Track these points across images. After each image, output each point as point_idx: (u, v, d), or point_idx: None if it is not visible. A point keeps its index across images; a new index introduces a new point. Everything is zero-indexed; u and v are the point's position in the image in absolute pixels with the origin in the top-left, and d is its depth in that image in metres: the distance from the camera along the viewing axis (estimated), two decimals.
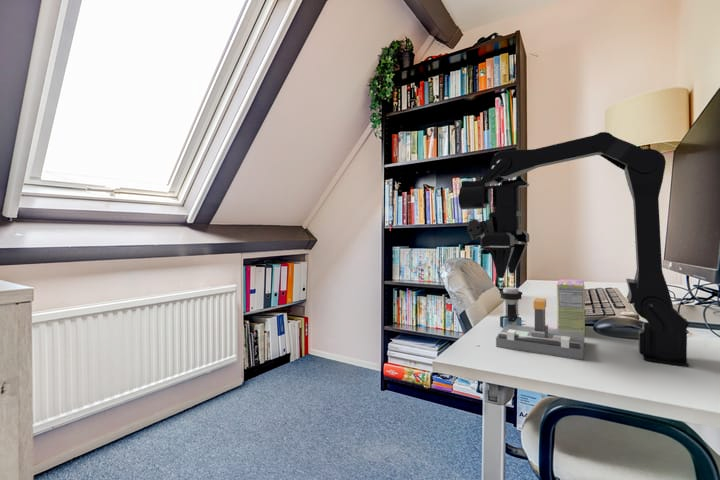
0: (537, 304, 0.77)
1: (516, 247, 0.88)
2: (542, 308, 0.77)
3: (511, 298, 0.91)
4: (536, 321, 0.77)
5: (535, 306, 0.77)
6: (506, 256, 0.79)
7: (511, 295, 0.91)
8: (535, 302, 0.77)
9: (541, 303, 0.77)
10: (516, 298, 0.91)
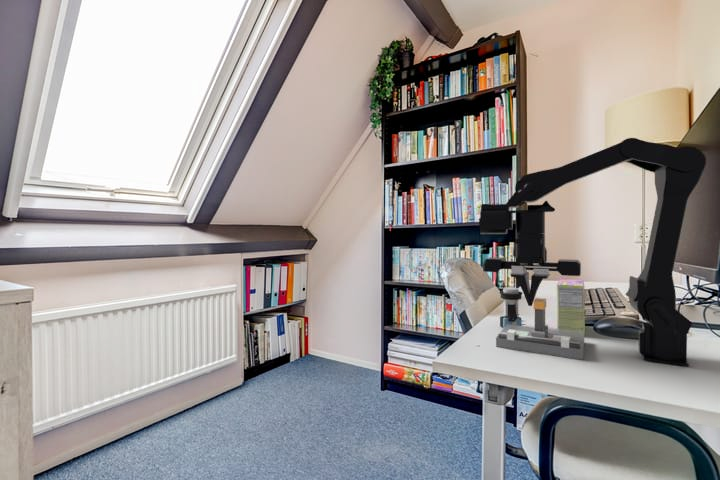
0: (537, 304, 0.77)
1: None
2: (542, 308, 0.77)
3: (511, 298, 0.91)
4: (536, 321, 0.77)
5: (535, 306, 0.77)
6: None
7: (511, 295, 0.91)
8: (535, 302, 0.77)
9: (541, 303, 0.77)
10: (516, 298, 0.91)
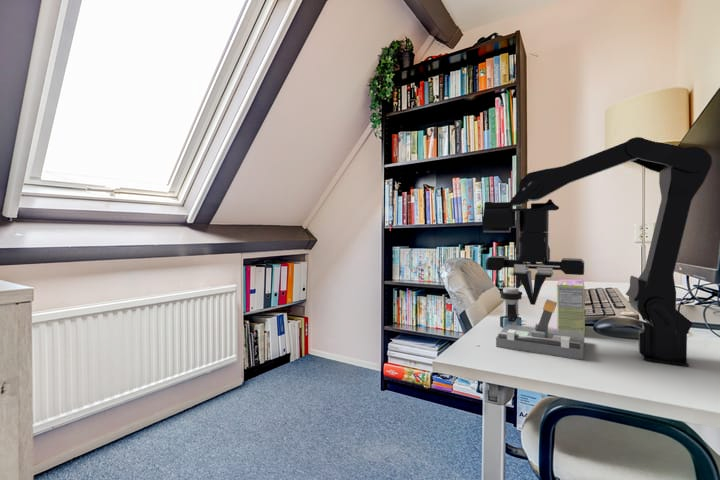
0: (548, 306, 0.76)
1: None
2: (551, 311, 0.76)
3: (511, 298, 0.91)
4: (541, 322, 0.77)
5: (545, 307, 0.76)
6: None
7: (511, 295, 0.91)
8: (546, 304, 0.76)
9: (552, 306, 0.76)
10: (516, 298, 0.91)
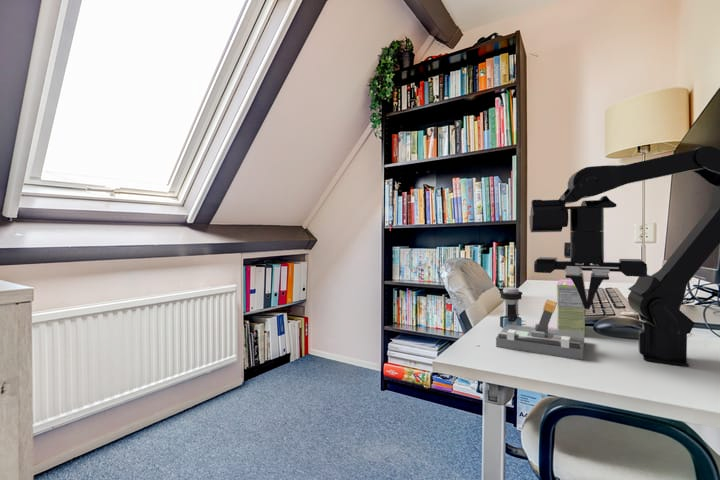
0: (548, 306, 0.76)
1: (590, 279, 0.73)
2: (552, 311, 0.76)
3: (511, 298, 0.91)
4: (541, 322, 0.77)
5: (545, 307, 0.76)
6: None
7: (511, 295, 0.91)
8: (547, 304, 0.76)
9: (552, 306, 0.75)
10: (516, 298, 0.91)
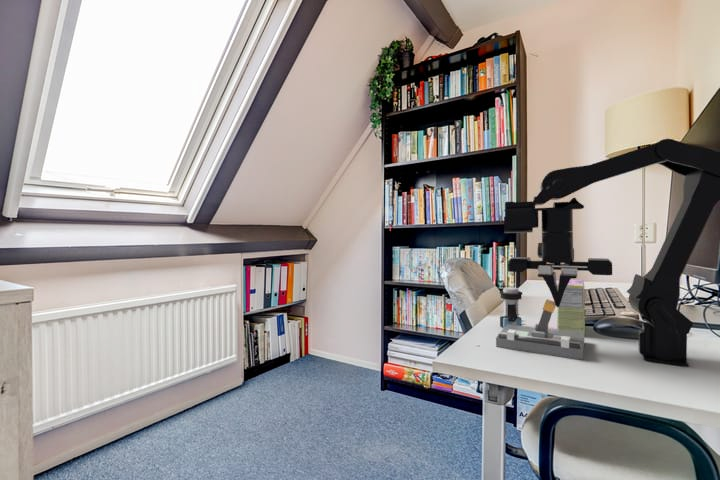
0: (547, 306, 0.76)
1: None
2: (551, 311, 0.76)
3: (511, 298, 0.91)
4: (541, 322, 0.77)
5: (545, 307, 0.76)
6: None
7: (511, 295, 0.91)
8: (546, 304, 0.76)
9: (552, 306, 0.76)
10: (516, 298, 0.91)
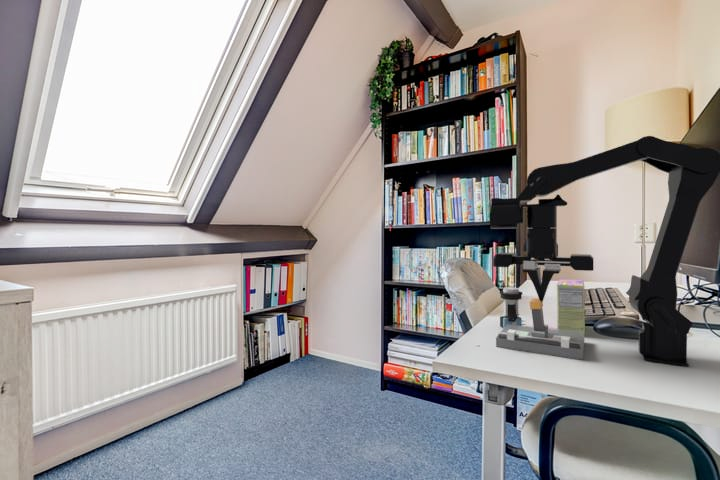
0: (533, 304, 0.77)
1: None
2: (539, 307, 0.77)
3: (511, 298, 0.91)
4: (534, 321, 0.77)
5: (532, 306, 0.78)
6: None
7: (511, 295, 0.91)
8: (531, 302, 0.78)
9: (537, 303, 0.77)
10: (516, 298, 0.91)
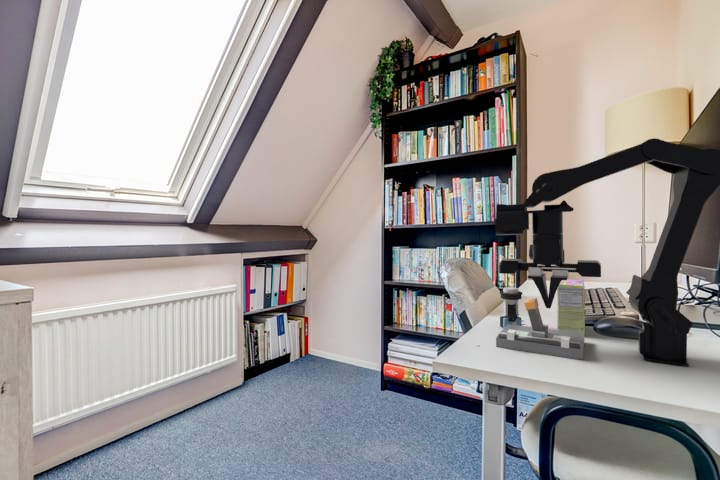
0: (528, 305, 0.78)
1: None
2: (534, 307, 0.77)
3: (511, 298, 0.91)
4: (532, 322, 0.78)
5: (527, 307, 0.78)
6: None
7: (511, 295, 0.91)
8: (526, 303, 0.78)
9: (532, 303, 0.78)
10: (516, 298, 0.91)
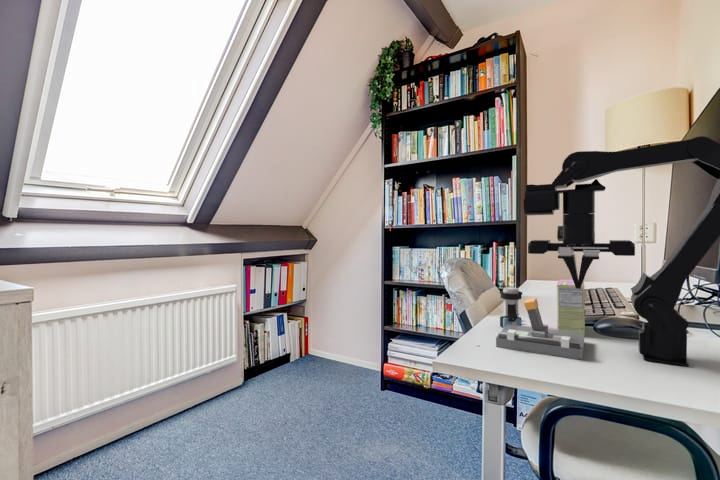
0: (528, 305, 0.78)
1: None
2: (534, 307, 0.77)
3: (511, 298, 0.91)
4: (532, 322, 0.78)
5: (527, 307, 0.78)
6: None
7: (511, 295, 0.91)
8: (526, 303, 0.78)
9: (531, 303, 0.78)
10: (516, 298, 0.91)
